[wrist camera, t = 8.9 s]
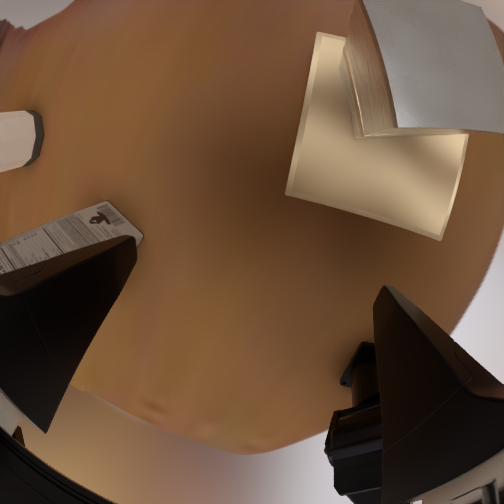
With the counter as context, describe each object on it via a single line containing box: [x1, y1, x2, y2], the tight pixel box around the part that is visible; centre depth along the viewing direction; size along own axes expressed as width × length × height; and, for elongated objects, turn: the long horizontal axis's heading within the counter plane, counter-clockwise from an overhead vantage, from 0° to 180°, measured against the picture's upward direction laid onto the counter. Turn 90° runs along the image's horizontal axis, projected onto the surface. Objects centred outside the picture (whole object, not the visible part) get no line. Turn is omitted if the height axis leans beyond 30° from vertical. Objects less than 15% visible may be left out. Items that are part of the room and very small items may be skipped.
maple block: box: [285, 32, 469, 241], centre depth 16 cm, size 12×12×4 cm
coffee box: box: [0, 201, 143, 274], centre depth 21 cm, size 9×6×16 cm
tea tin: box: [339, 0, 504, 139], centre depth 9 cm, size 5×5×10 cm
